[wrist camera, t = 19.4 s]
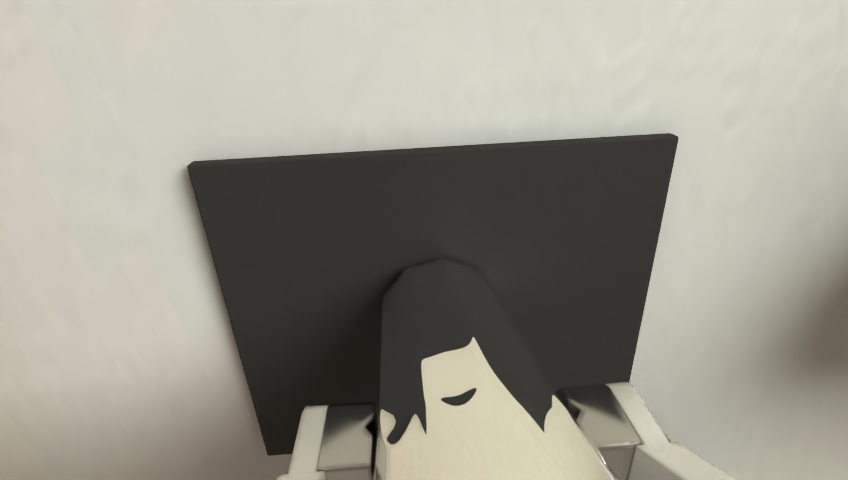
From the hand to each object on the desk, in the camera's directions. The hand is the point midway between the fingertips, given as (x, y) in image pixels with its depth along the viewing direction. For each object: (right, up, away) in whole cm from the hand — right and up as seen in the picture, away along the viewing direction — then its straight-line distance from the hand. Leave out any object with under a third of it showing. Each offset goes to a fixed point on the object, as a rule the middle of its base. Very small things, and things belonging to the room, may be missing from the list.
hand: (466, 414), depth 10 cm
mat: (0, +2, +4) cm, 4 cm away
